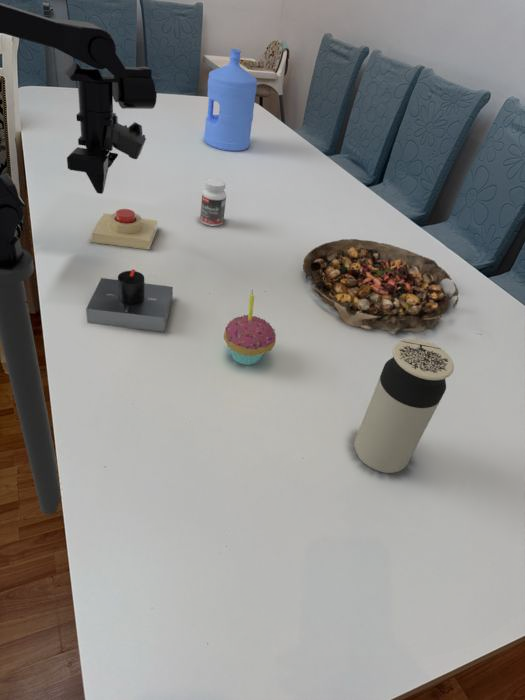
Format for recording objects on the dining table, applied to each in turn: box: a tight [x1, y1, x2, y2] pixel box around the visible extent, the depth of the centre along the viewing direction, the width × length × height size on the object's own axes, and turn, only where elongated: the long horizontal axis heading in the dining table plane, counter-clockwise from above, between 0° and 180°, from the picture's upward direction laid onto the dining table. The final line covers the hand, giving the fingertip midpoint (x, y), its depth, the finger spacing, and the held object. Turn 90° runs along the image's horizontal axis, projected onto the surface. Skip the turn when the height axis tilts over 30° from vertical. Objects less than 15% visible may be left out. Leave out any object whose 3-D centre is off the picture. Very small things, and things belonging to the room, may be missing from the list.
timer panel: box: [85, 277, 174, 333], centre depth 88 cm, size 13×10×3 cm
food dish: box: [302, 238, 459, 335], centre depth 106 cm, size 35×33×8 cm
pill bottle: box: [200, 177, 227, 227], centre depth 119 cm, size 6×6×10 cm
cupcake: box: [223, 289, 277, 366], centre depth 80 cm, size 9×8×12 cm
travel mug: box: [353, 338, 455, 474], centre depth 66 cm, size 8×8×18 cm
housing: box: [91, 212, 158, 250], centre depth 109 cm, size 12×10×4 cm
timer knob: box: [117, 268, 145, 304], centre depth 86 cm, size 4×4×4 cm
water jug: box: [203, 48, 258, 152], centre depth 161 cm, size 16×16×28 cm
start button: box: [115, 208, 136, 224], centre depth 107 cm, size 4×4×2 cm
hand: (100, 192), depth 98 cm, fingers closed
